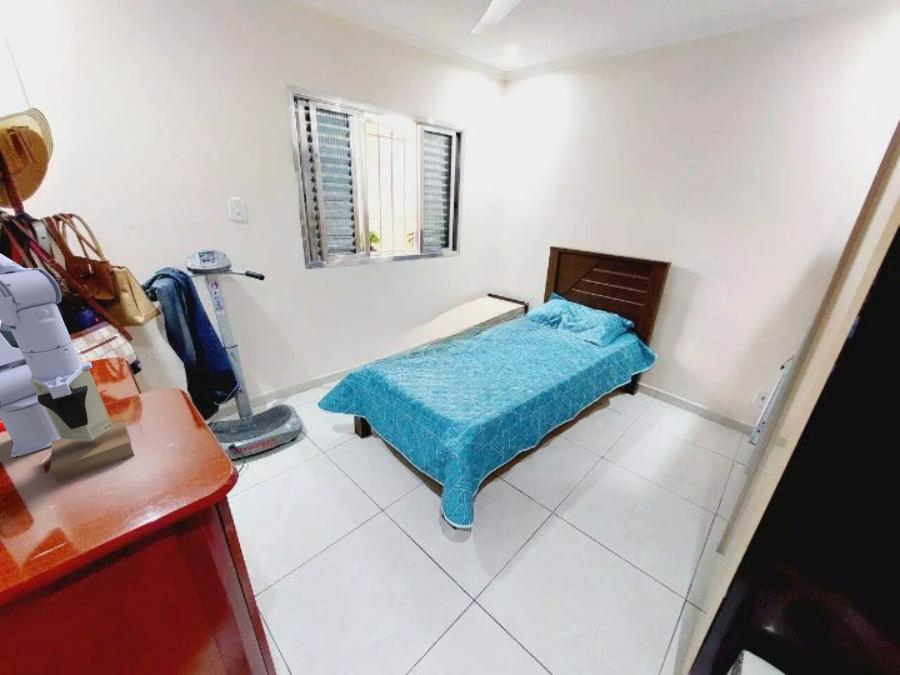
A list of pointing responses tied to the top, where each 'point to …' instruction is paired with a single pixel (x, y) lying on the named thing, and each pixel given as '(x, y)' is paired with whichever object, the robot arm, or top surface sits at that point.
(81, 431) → the skincare box
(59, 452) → the block
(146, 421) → the top surface
